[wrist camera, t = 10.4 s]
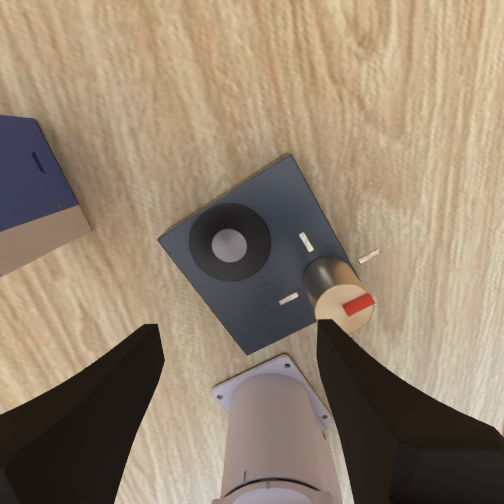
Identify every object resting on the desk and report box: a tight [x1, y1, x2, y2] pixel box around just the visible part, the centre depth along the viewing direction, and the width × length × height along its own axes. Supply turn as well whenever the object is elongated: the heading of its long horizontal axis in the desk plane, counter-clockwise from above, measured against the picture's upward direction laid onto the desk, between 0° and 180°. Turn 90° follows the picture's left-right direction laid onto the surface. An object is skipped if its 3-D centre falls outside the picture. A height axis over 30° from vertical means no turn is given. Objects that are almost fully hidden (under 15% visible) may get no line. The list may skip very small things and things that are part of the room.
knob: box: [304, 256, 375, 334], centre depth 17 cm, size 3×3×4 cm
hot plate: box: [157, 153, 381, 355], centre depth 20 cm, size 12×12×3 cm
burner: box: [189, 203, 271, 282], centre depth 18 cm, size 5×5×1 cm
